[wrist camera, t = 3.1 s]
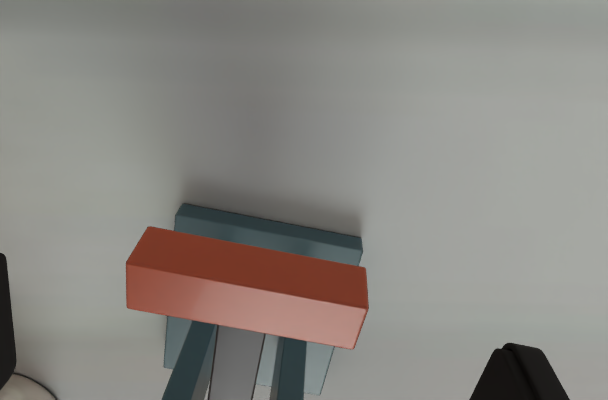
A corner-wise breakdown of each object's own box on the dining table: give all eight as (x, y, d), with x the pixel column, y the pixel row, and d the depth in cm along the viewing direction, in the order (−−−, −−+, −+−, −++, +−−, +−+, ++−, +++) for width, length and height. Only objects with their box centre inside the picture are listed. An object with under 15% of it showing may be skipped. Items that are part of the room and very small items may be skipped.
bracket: (182, 202, 23) (35, 437, 12) (361, 237, 23) (392, 497, 12) (169, 352, 27) (54, 628, 16) (320, 379, 28) (313, 669, 16)
